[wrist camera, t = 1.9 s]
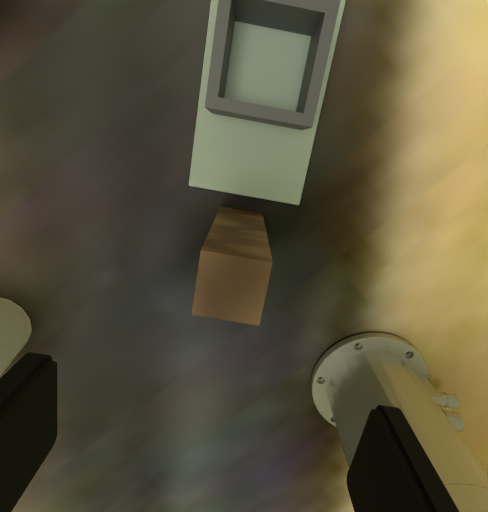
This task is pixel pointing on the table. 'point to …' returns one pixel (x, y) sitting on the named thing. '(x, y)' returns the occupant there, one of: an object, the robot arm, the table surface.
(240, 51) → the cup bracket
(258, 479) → the table surface
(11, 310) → the foam cup
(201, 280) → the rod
